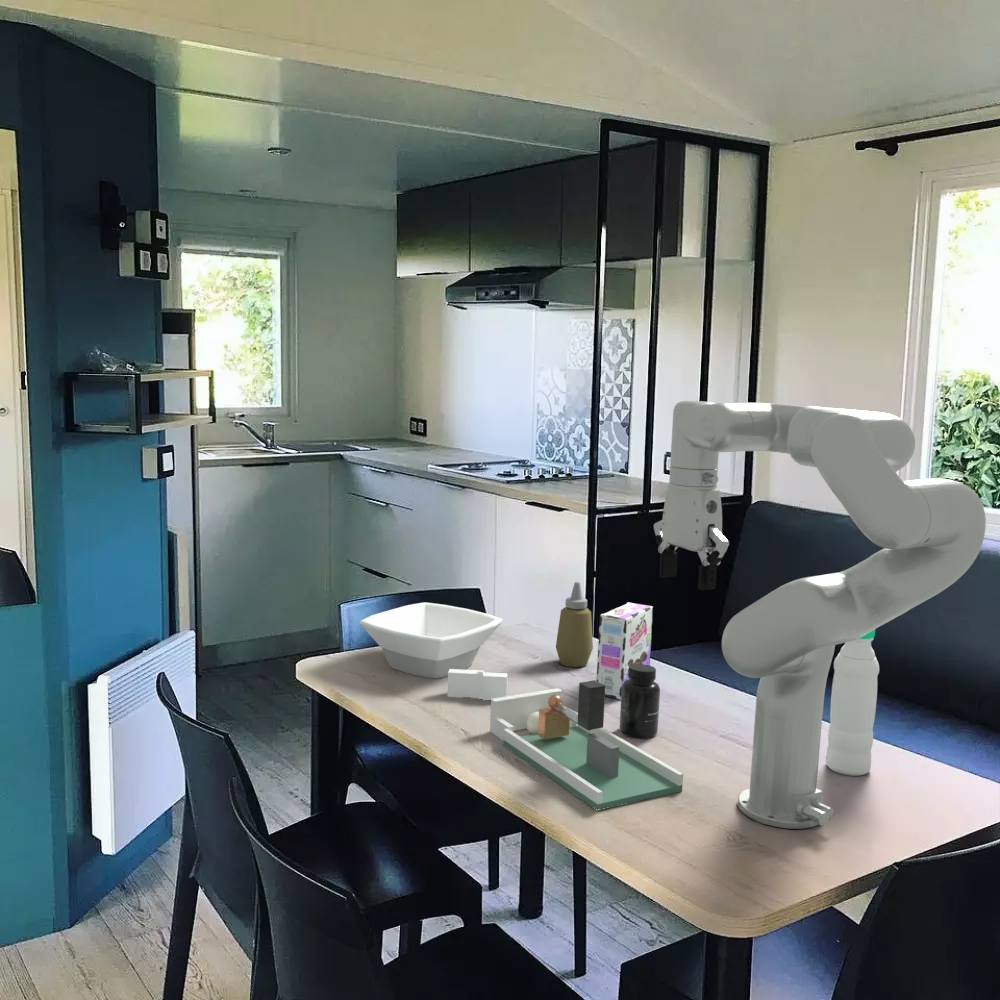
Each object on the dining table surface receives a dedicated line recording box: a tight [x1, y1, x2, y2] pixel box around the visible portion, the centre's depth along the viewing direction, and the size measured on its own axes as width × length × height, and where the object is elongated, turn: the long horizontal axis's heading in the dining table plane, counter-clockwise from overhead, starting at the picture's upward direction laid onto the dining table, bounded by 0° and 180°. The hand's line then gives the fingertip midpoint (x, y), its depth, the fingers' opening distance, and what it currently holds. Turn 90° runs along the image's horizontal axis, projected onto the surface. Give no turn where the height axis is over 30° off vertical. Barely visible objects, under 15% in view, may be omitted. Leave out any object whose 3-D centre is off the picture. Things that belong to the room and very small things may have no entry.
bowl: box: [359, 602, 504, 680], centre depth 217 cm, size 24×25×10 cm
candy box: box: [595, 602, 654, 700], centre depth 206 cm, size 14×6×16 cm, turn 148°
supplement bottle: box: [619, 664, 661, 740], centre depth 182 cm, size 7×7×12 cm
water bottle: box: [825, 629, 880, 777], centre depth 168 cm, size 7×7×25 cm
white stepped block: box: [447, 669, 509, 701], centre depth 198 cm, size 15×11×6 cm
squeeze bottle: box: [555, 581, 594, 668], centre depth 221 cm, size 8×8×18 cm
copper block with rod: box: [538, 679, 606, 740], centre depth 170 cm, size 13×5×12 cm, turn 30°
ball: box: [527, 712, 539, 734], centre depth 180 cm, size 4×4×4 cm
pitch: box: [489, 687, 684, 811], centre depth 169 cm, size 34×16×6 cm, turn 30°
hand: (686, 582), depth 167 cm, fingers open, 9 cm apart
